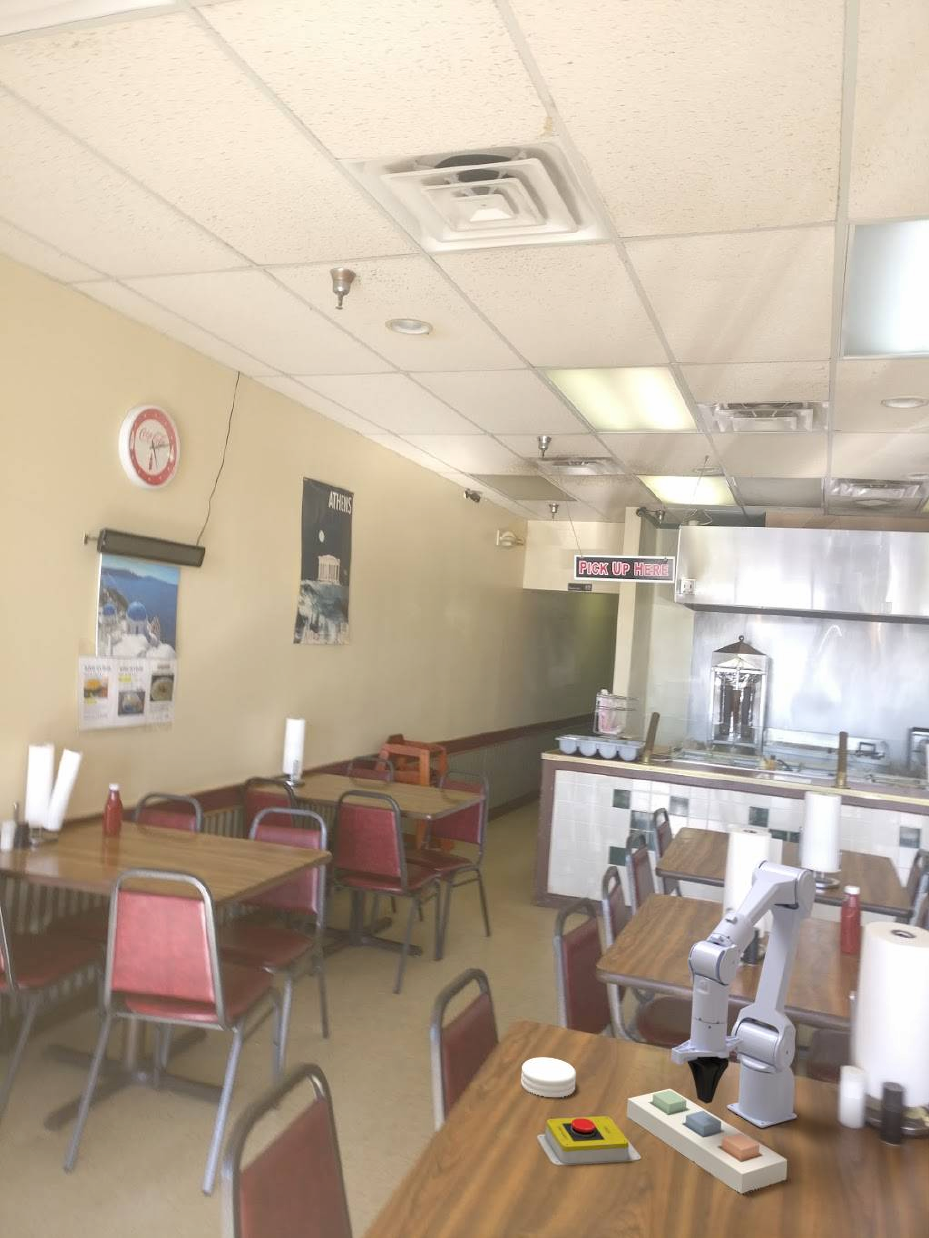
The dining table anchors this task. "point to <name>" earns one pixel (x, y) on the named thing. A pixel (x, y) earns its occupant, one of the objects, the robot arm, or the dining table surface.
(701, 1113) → the slate-blue button
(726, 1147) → the terracotta button
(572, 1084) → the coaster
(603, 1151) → the emergency button
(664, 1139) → the button panel
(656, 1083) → the dining table surface
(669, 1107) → the sage-green button
